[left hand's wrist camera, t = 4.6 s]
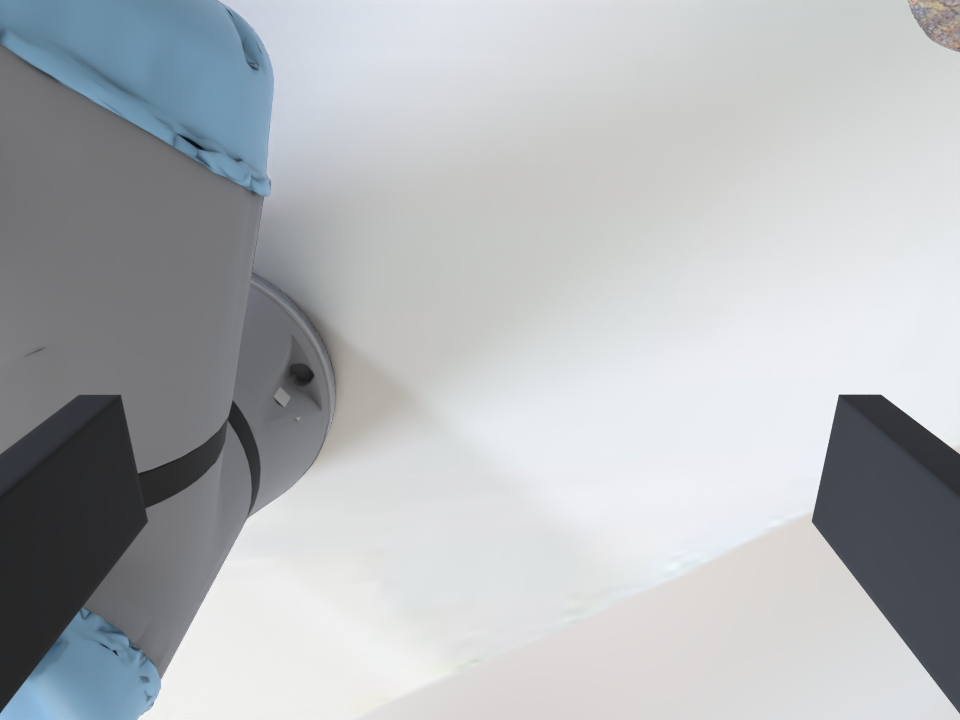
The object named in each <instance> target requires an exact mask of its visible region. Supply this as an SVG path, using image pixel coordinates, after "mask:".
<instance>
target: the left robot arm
mask: <svg viewBox="0 0 960 720" xmlns="http://www.w3.org/2000/svg"><path fill="white" fill-rule="evenodd" d="M273 83H274V78H273V70H272V66H271V62H270V59H269V55H268V53H267V51H266V49H265V47H264V45H263V43H262V41H261V39H260V38H259V37H258V35H257V34H256V32H255V31H254V30H253V28H252V27H251V26H250V25H249V24H248V23H247V22H246V21H245V20H244V19H243V18H242V17H241V16H239V15H238V14H237V13H236V12H234V11H233V10H232V9H230V8H229V7H227V6H226V5H224V4H223V3H221V2H219V1H218V0H0V720H137V719H138V718H139V716H141V715H142V714H144V712H146V711H148V710H149V709H150V708H151V707H152V706H153V704H154V701H155V699H156V697H157V696H158V693H159V690H160V688H161V678H162V677H163V675H164V673H165V671H166V669H167V667H168V665H169V663H170V662H171V660H172V658H173V656H174V654H175V652H176V650H177V649H178V647H179V645H180V643H181V641H182V639H183V637H184V636H185V634H186V632H187V630H188V628H189V626H190V624H191V622H192V621H193V619H194V617H195V615H196V613H197V611H198V609H199V608H200V606H201V604H202V602H203V600H204V598H205V596H206V594H207V593H208V591H209V589H210V587H211V585H212V583H213V581H214V580H215V578H216V576H217V574H218V572H219V570H220V568H221V567H222V565H223V563H224V561H225V559H226V557H227V555H228V553H229V552H230V550H231V548H232V546H233V544H234V542H235V540H236V539H237V537H238V535H239V533H240V531H241V529H242V527H243V525H244V523H245V521H246V519H247V518H249V517H250V516H251V515H253V514H254V513H256V512H257V511H259V510H260V509H262V508H263V507H264V506H266V505H267V504H269V503H270V502H272V501H273V500H275V499H276V498H277V497H279V496H280V495H282V494H283V493H285V492H286V491H287V490H288V489H290V488H291V487H292V486H293V485H294V484H295V483H296V482H297V481H298V480H299V479H300V478H301V477H302V476H303V475H304V474H305V473H306V471H307V470H308V469H309V468H310V467H311V465H312V464H313V462H314V461H315V459H316V457H317V456H318V454H319V452H320V450H321V448H322V446H323V444H324V441H325V439H326V437H327V434H328V432H329V429H330V426H331V423H332V419H333V415H334V408H335V382H334V375H333V370H332V365H331V362H330V359H329V356H328V353H327V351H326V349H325V346H324V344H323V342H322V340H321V338H320V336H319V335H318V333H317V331H316V329H315V328H314V327H313V325H312V324H311V322H310V321H309V319H308V318H307V317H306V316H305V314H304V313H303V312H302V311H301V310H300V308H299V307H298V306H297V305H296V304H295V303H294V302H293V301H292V300H291V299H289V298H288V297H287V296H286V295H285V294H284V293H282V292H281V291H280V290H279V289H277V288H276V287H274V286H273V285H272V284H270V283H269V282H267V281H265V280H264V279H262V278H260V277H259V276H257V275H255V274H253V273H252V268H253V262H254V255H255V249H256V243H257V237H258V230H259V224H260V218H261V212H262V206H263V199H264V196H269V194H270V190H271V182H270V179H269V178H268V177H267V175H266V166H267V152H268V139H269V129H270V119H271V109H272V99H273ZM812 522H813V524H814V525H815V526H816V528H817V529H818V530H819V532H820V533H821V534H822V535H823V537H824V538H825V539H826V541H827V542H828V543H829V545H830V546H831V547H832V549H833V550H834V551H835V552H836V554H837V555H838V556H839V558H840V559H841V560H842V561H843V563H844V564H845V565H846V567H847V568H848V569H849V571H850V572H851V573H852V574H853V576H854V577H855V578H856V580H857V581H858V582H859V583H860V585H861V586H862V587H863V589H864V590H865V591H866V593H867V594H868V595H869V597H870V598H871V599H872V600H873V602H874V603H875V604H876V605H877V607H878V608H879V609H880V611H881V612H882V613H883V615H884V616H885V617H886V619H887V620H888V621H889V622H890V624H891V625H892V626H893V628H894V629H895V630H896V631H897V633H898V634H899V635H900V637H901V638H902V639H903V641H904V642H905V643H906V645H907V646H908V647H909V648H910V650H911V651H912V652H913V654H914V655H915V656H916V657H917V659H918V660H919V661H920V663H921V664H922V665H923V667H924V668H925V669H926V670H927V672H928V673H929V674H930V676H931V677H932V678H933V680H934V681H935V682H936V683H937V685H938V686H939V687H940V689H941V690H942V691H943V693H944V694H945V695H946V696H947V698H948V699H949V700H950V702H951V703H952V704H953V705H954V707H955V708H956V709H957V711H958V712H959V713H960V454H959V453H957V452H956V451H955V450H953V449H952V448H951V447H949V446H948V445H947V444H945V443H944V442H943V441H941V440H940V439H939V438H937V437H936V436H935V435H934V434H932V433H931V432H930V431H928V430H927V429H926V428H924V427H923V426H922V425H920V424H919V423H918V422H916V421H915V420H914V419H912V418H911V417H910V416H908V415H907V414H906V413H904V412H903V411H902V410H900V409H899V408H898V407H897V406H895V405H894V404H893V403H891V402H890V401H889V400H887V399H886V398H885V397H883V396H882V395H839V397H838V402H837V407H836V411H835V416H834V421H833V425H832V430H831V434H830V439H829V444H828V448H827V453H826V458H825V462H824V467H823V472H822V476H821V481H820V486H819V490H818V495H817V500H816V504H815V509H814V514H813V518H812Z"/></svg>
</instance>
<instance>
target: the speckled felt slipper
mask: <svg viewBox="0 0 960 720" xmlns="http://www.w3.org/2000/svg"><path fill="white" fill-rule="evenodd" d="M908 2H909V5H910V8H911V11H912V14H913V15H914V18H915V19H916V20H917V23H919V25H920V27H921V28H922V29H923V30H924V31H925V33H926V35H927V36H928V37H929V38H930V39H931V40H932V41H934V42H936V43H938V44H940V45H942V46H944V47H946V48H949V49H951V50H955V51H958V52H960V0H908Z"/></svg>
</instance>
